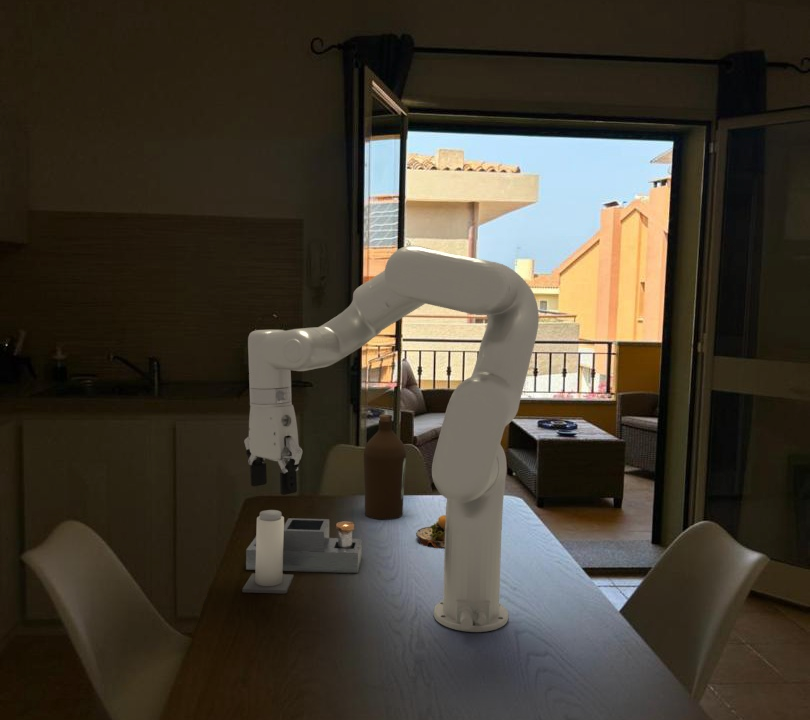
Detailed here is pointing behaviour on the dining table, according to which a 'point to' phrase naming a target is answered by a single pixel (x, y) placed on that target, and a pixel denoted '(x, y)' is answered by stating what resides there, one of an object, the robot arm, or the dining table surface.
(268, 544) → the cylinder
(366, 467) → the olive oil
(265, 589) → the mat
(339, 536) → the plunger
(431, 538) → the burger
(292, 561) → the housing
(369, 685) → the dining table surface
